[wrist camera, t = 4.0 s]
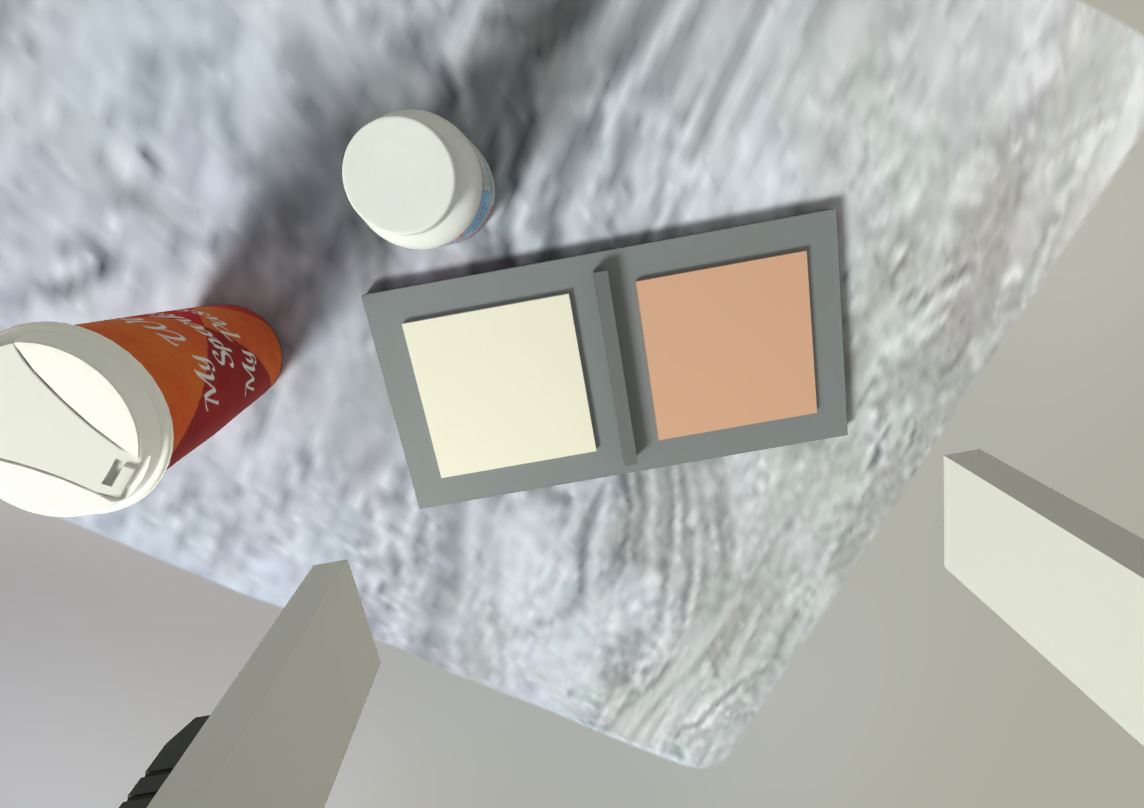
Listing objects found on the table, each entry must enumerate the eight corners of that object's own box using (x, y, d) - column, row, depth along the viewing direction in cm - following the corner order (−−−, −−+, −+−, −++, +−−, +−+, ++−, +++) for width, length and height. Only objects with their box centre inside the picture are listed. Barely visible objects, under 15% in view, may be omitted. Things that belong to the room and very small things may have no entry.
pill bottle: (420, 259, 37) (365, 276, 26) (373, 157, 35) (293, 132, 25) (514, 219, 37) (496, 220, 26) (470, 114, 35) (432, 68, 24)
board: (366, 293, 38) (355, 298, 36) (828, 209, 37) (845, 208, 35) (422, 502, 42) (415, 517, 40) (840, 429, 41) (856, 441, 39)
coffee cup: (326, 338, 38) (189, 411, 24) (261, 440, 40) (96, 565, 26) (201, 255, 37) (-26, 279, 22) (139, 365, 39) (-108, 453, 24)
